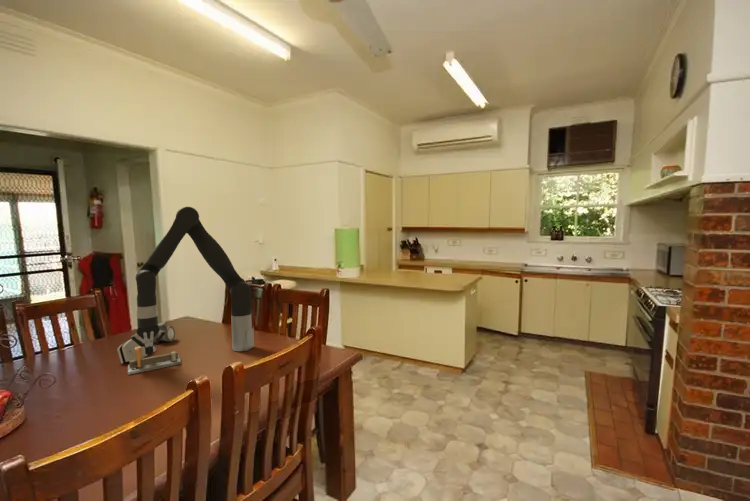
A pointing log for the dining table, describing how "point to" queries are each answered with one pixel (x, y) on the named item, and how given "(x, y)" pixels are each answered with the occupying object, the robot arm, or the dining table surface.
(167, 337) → the pipe fitting
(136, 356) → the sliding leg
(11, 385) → the dining table surface
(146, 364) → the grey piece
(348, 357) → the dining table surface
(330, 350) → the dining table surface
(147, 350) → the robot arm
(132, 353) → the hinge
